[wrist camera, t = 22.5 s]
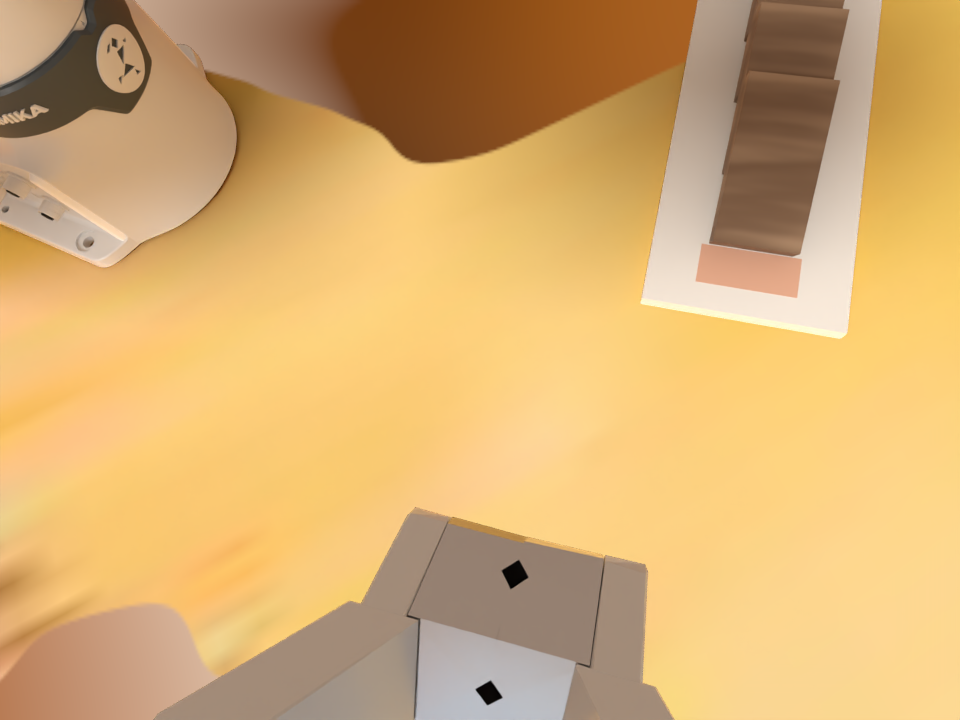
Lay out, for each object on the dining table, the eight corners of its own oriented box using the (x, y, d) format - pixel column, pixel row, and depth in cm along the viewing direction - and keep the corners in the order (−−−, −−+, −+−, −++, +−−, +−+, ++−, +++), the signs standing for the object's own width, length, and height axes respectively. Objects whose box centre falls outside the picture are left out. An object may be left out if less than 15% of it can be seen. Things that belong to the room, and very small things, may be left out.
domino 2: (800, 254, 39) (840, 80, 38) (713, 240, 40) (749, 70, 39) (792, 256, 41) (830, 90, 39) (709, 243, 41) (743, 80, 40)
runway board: (640, 303, 42) (641, 297, 41) (701, -22, 48) (704, -34, 47) (840, 338, 40) (847, 333, 39) (877, -8, 46) (883, -20, 45)
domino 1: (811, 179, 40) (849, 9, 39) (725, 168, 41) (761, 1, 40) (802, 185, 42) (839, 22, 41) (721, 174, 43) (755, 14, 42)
